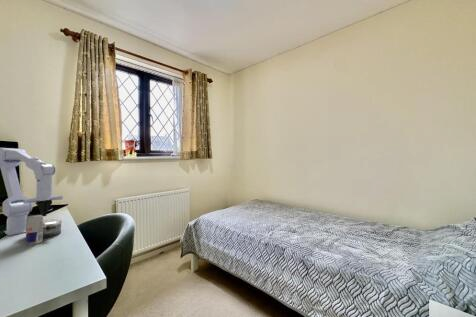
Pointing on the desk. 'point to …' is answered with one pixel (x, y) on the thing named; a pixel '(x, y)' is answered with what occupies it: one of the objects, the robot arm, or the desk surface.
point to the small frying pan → (50, 223)
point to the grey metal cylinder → (51, 232)
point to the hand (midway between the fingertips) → (43, 216)
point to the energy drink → (34, 230)
